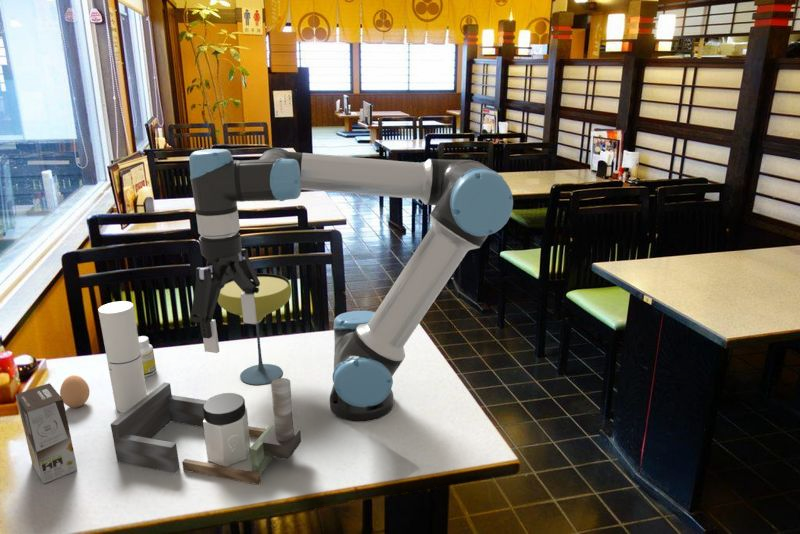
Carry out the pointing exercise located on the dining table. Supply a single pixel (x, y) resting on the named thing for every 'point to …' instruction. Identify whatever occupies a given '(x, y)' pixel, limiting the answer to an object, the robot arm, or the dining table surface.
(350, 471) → the dining table surface
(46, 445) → the coffee box
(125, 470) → the dining table surface
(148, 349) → the supplement bottle
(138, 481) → the dining table surface
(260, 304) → the cocktail glass
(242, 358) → the dining table surface
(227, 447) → the jar
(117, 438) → the lane
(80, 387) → the egg
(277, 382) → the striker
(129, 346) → the cylindrical container
